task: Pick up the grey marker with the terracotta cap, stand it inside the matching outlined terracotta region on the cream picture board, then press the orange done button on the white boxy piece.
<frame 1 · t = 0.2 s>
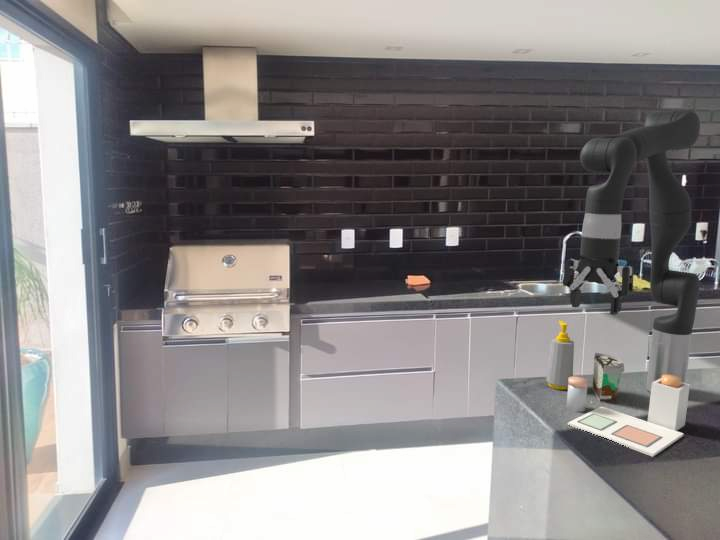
hand: (594, 310, 120), 28 cm above the counter, tool pointing down, fingers open, 8 cm apart
picture board: (624, 430, 127), on the counter
marker: (575, 408, 139), on the counter
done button: (671, 382, 130), point 10 cm above the counter, slide at 0.0 cm
white boxy piece: (666, 424, 131), on the counter
soap bottle: (558, 386, 155), on the counter
food container: (608, 396, 148), on the counter
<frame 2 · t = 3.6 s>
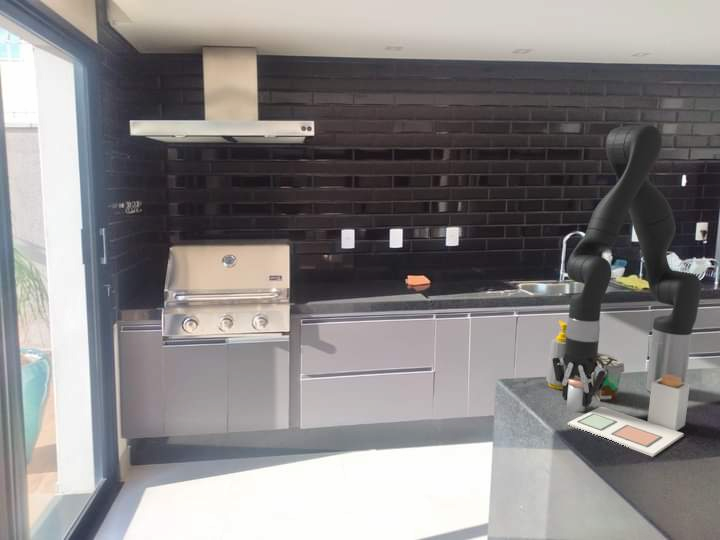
hand: (576, 402, 139), 2 cm above the counter, tool pointing down, fingers closed on marker, 4 cm apart
marker: (575, 408, 139), on the counter, touching gripper
everything else where it was.
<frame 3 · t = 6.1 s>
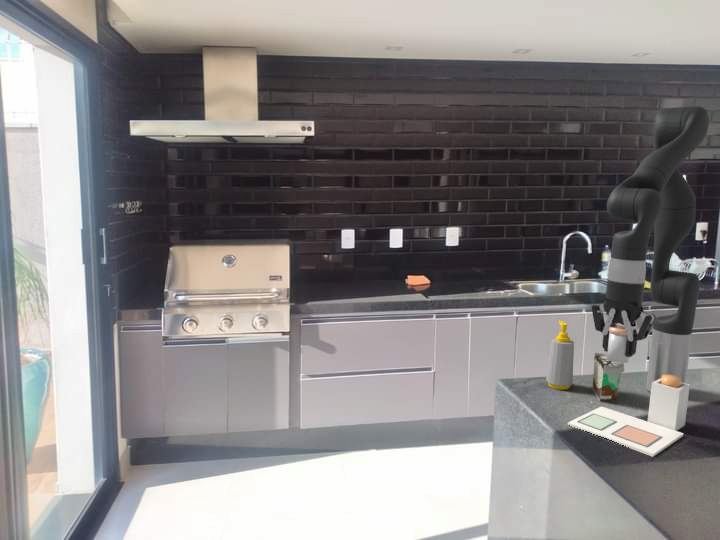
hand: (618, 353, 126), 18 cm above the counter, tool pointing down, fingers closed on marker, 4 cm apart
marker: (617, 359, 127), point 16 cm above the counter, touching gripper
everything else where it was.
when the fingers open (4 cm above the counter, at t = 8.9 s): marker drops 1 cm, resting on picture board.
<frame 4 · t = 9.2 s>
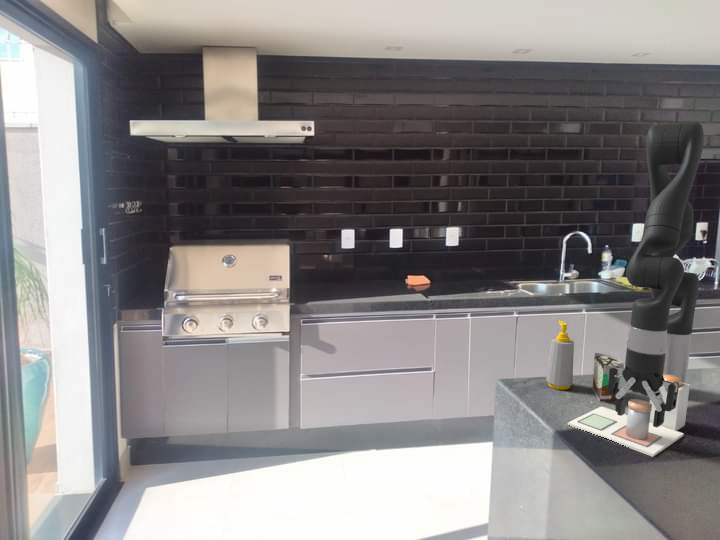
hand: (638, 420, 123), 4 cm above the counter, tool pointing down, fingers open, 7 cm apart
marker: (636, 435, 123), point 1 cm above the counter, touching picture board
everything else where it was.
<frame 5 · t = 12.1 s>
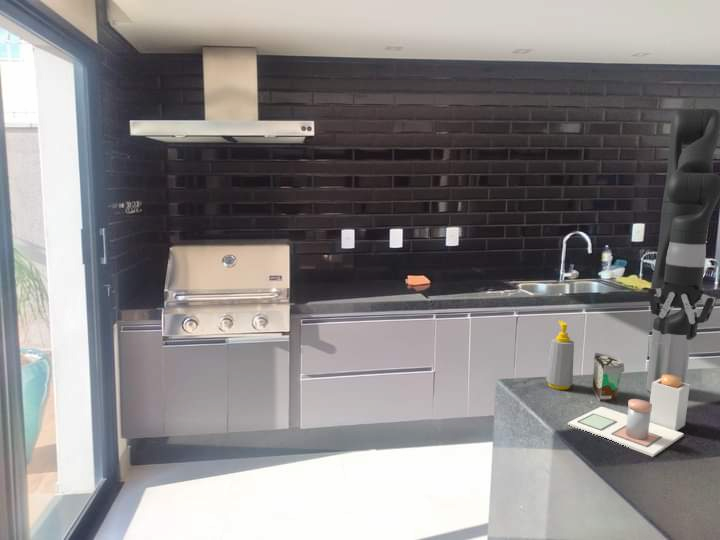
hand: (676, 336, 128), 21 cm above the counter, tool pointing down, fingers open, 5 cm apart
nothing on the counter moved.
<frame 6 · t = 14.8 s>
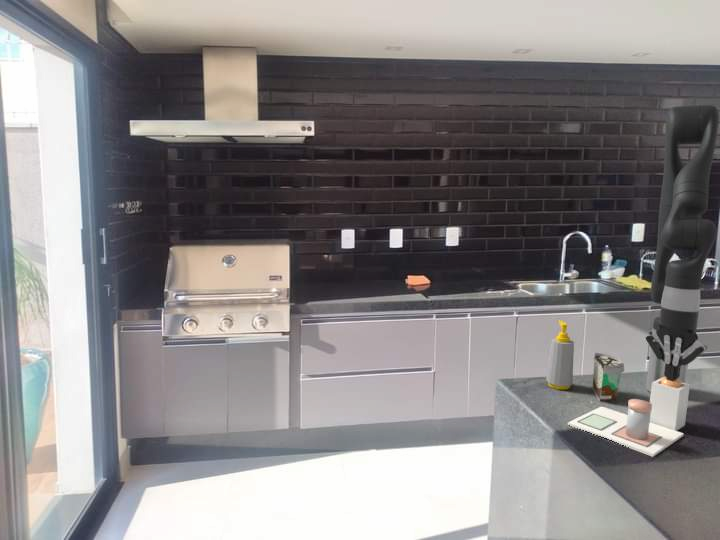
hand: (671, 379, 129), 11 cm above the counter, tool pointing down, fingers closed
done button: (670, 384, 130), point 10 cm above the counter, slide at 0.6 cm, touching gripper
everything else where it was.
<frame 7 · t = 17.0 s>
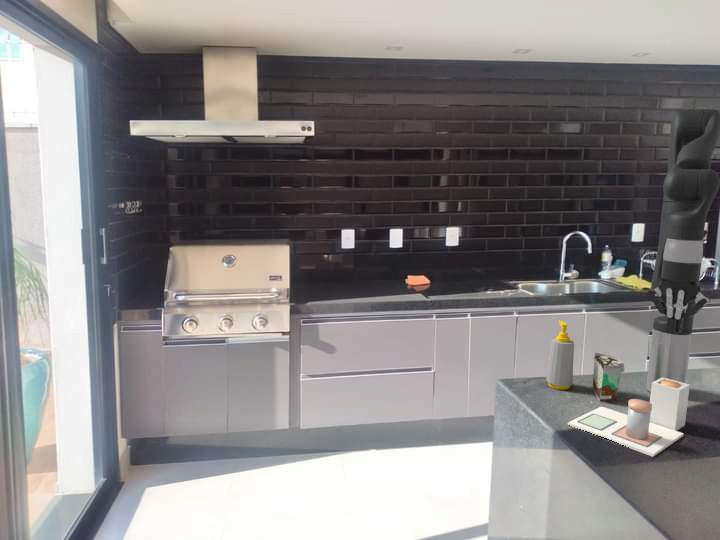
hand: (673, 333, 128), 22 cm above the counter, tool pointing down, fingers closed
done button: (670, 388, 130), point 9 cm above the counter, slide at 1.5 cm
everything else where it was.
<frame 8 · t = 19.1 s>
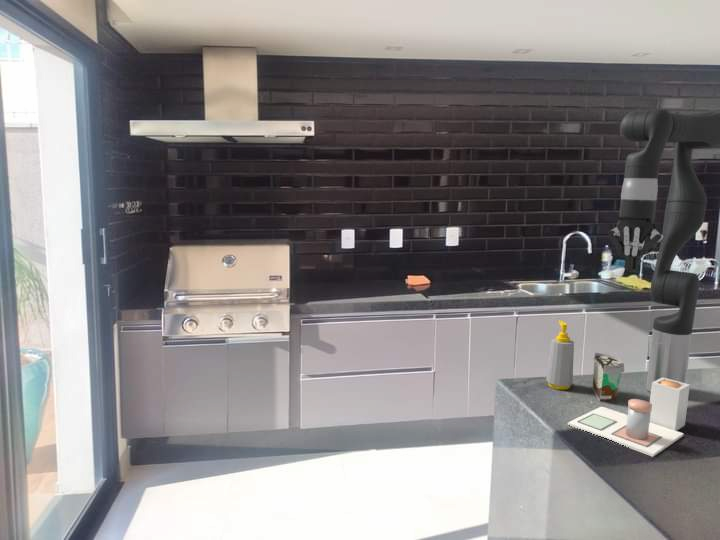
hand: (631, 271, 133), 35 cm above the counter, tool pointing down, fingers closed
nothing on the counter moved.
at the end: marker 0.0 cm from the target spot, point 0.7 cm above the counter; marker tilted 0°; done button slide at 1.5 cm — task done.
